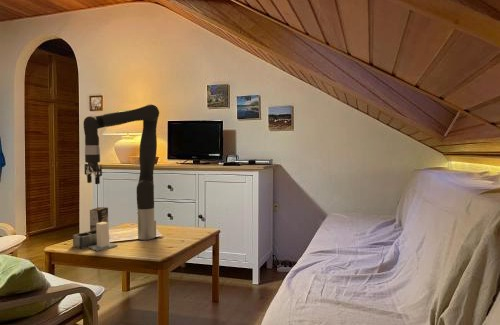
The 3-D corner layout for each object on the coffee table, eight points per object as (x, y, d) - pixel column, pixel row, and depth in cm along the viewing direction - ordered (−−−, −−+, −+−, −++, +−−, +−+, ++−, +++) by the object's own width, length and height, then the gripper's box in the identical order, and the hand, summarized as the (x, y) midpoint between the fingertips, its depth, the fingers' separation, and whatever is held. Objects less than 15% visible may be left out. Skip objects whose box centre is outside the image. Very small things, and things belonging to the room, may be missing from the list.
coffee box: (100, 238, 215) (99, 210, 214) (89, 237, 216) (89, 209, 215) (109, 234, 224) (108, 207, 223) (99, 233, 225) (98, 206, 224)
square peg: (104, 243, 202) (104, 221, 201) (109, 245, 199) (108, 222, 198) (96, 245, 198) (96, 223, 198) (101, 247, 196) (100, 224, 195)
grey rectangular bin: (98, 240, 212) (97, 229, 211) (105, 242, 206) (105, 232, 206) (73, 246, 201) (72, 234, 200) (80, 249, 196) (80, 237, 195)
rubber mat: (108, 243, 206) (108, 241, 206) (117, 246, 200) (117, 244, 200) (88, 247, 197) (88, 246, 197) (97, 251, 192) (97, 249, 192)
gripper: (105, 153, 204) (106, 183, 206) (92, 152, 213) (93, 181, 215) (92, 154, 198) (93, 185, 200) (79, 153, 208) (80, 183, 209)
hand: (93, 183), depth 207 cm, fingers open, 8 cm apart
